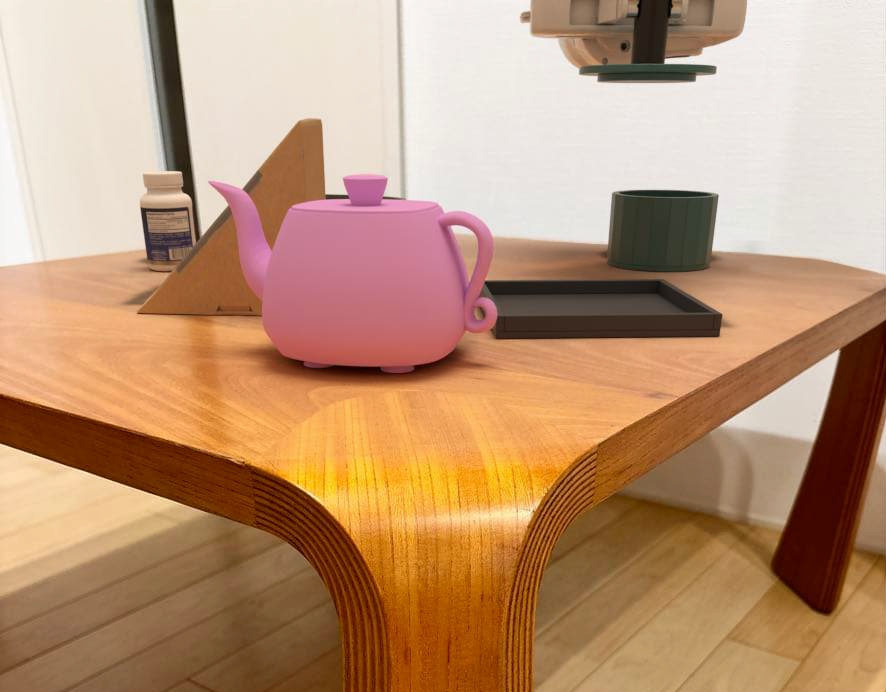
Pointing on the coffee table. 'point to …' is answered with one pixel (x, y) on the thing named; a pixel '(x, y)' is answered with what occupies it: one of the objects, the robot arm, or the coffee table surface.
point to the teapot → (364, 277)
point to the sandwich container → (216, 253)
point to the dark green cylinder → (662, 230)
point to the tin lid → (649, 53)
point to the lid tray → (597, 309)
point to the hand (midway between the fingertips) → (655, 5)
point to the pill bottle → (166, 220)
